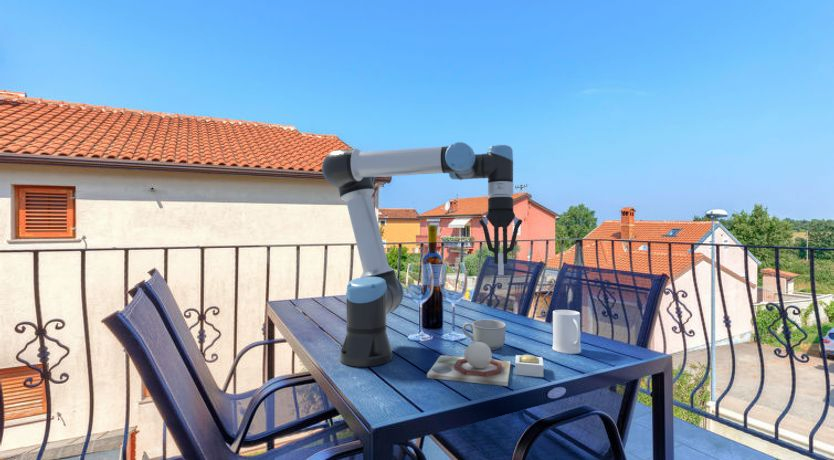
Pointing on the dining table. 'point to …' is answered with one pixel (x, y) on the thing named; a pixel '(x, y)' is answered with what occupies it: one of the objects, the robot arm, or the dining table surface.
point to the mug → (566, 331)
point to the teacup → (487, 332)
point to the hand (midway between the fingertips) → (500, 274)
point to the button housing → (529, 367)
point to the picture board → (470, 371)
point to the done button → (529, 359)
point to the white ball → (478, 355)
